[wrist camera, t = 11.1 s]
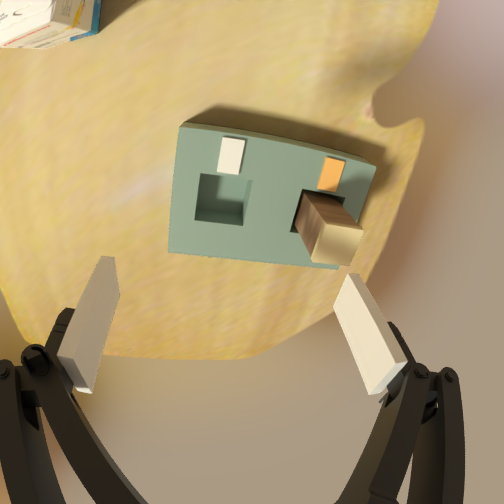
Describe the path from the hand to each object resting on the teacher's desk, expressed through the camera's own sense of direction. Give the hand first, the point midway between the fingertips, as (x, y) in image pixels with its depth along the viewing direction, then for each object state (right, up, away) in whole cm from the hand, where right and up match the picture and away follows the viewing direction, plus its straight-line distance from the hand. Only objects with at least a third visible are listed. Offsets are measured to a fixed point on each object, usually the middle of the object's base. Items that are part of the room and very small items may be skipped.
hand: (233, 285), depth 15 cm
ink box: (-22, +32, +5) cm, 39 cm away
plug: (+9, +8, +23) cm, 26 cm away
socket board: (+3, +10, +22) cm, 25 cm away
